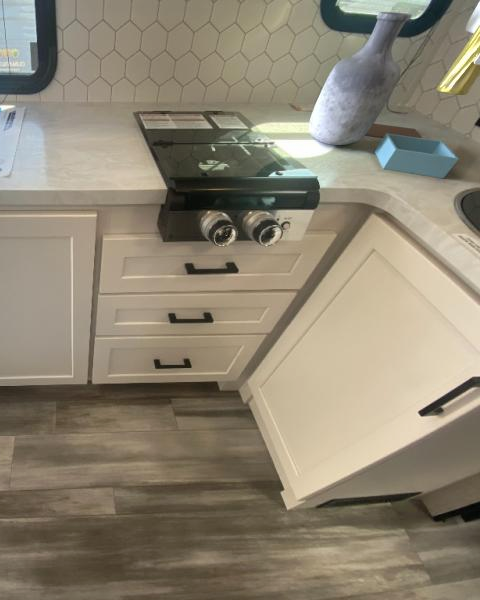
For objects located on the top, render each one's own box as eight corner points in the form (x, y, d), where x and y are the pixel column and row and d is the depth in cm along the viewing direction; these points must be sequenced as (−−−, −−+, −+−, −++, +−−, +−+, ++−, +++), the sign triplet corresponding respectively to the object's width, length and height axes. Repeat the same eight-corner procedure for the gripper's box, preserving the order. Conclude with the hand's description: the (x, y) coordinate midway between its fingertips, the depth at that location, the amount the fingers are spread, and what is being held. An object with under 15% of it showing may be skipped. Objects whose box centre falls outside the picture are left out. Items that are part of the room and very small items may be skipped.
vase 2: (434, 87, 86) (481, 13, 76) (465, 91, 84) (518, 15, 74) (436, 92, 83) (485, 15, 73) (468, 96, 80) (524, 18, 70)
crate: (429, 159, 95) (442, 141, 92) (443, 178, 87) (459, 158, 83) (374, 151, 99) (385, 133, 95) (382, 168, 90) (395, 149, 87)
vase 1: (352, 136, 108) (420, 12, 87) (366, 155, 97) (448, 18, 76) (297, 130, 111) (350, 9, 90) (304, 147, 100) (367, 14, 79)
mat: (414, 130, 114) (414, 128, 113) (425, 144, 104) (426, 142, 104) (352, 121, 118) (353, 120, 118) (358, 134, 109) (358, 133, 109)
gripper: (576, -20, 62) (508, 71, 71) (523, -21, 75) (472, 55, 85) (531, -21, 63) (471, 68, 73) (487, -22, 77) (441, 53, 87)
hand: (471, 61), depth 79 cm, fingers closed on vase 2, 5 cm apart
